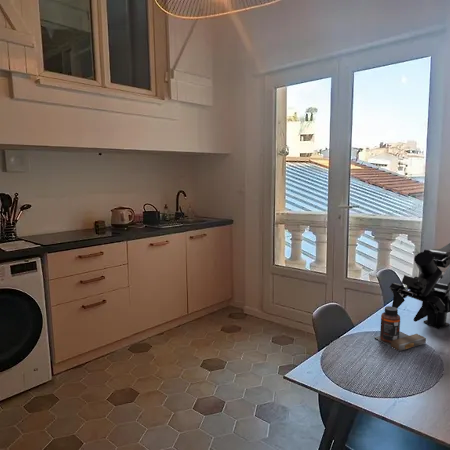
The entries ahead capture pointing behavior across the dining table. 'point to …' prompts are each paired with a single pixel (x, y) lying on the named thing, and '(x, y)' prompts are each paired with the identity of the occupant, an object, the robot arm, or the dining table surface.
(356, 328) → the dining table surface
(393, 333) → the supplement bottle
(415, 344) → the rail
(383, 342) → the front pad
